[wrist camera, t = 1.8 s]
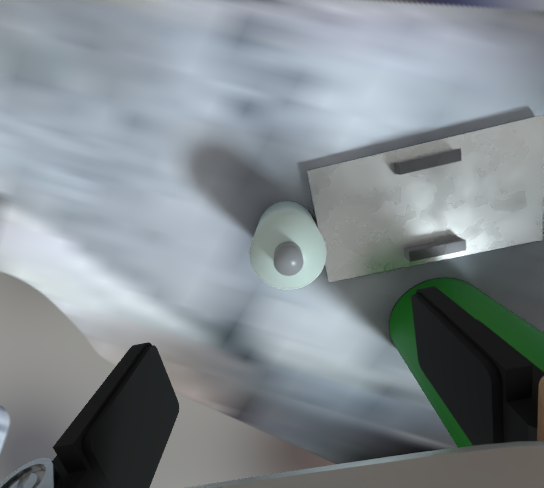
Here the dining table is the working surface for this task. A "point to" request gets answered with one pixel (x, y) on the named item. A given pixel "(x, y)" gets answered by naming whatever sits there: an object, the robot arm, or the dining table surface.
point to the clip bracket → (432, 200)
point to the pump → (287, 247)
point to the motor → (481, 307)
